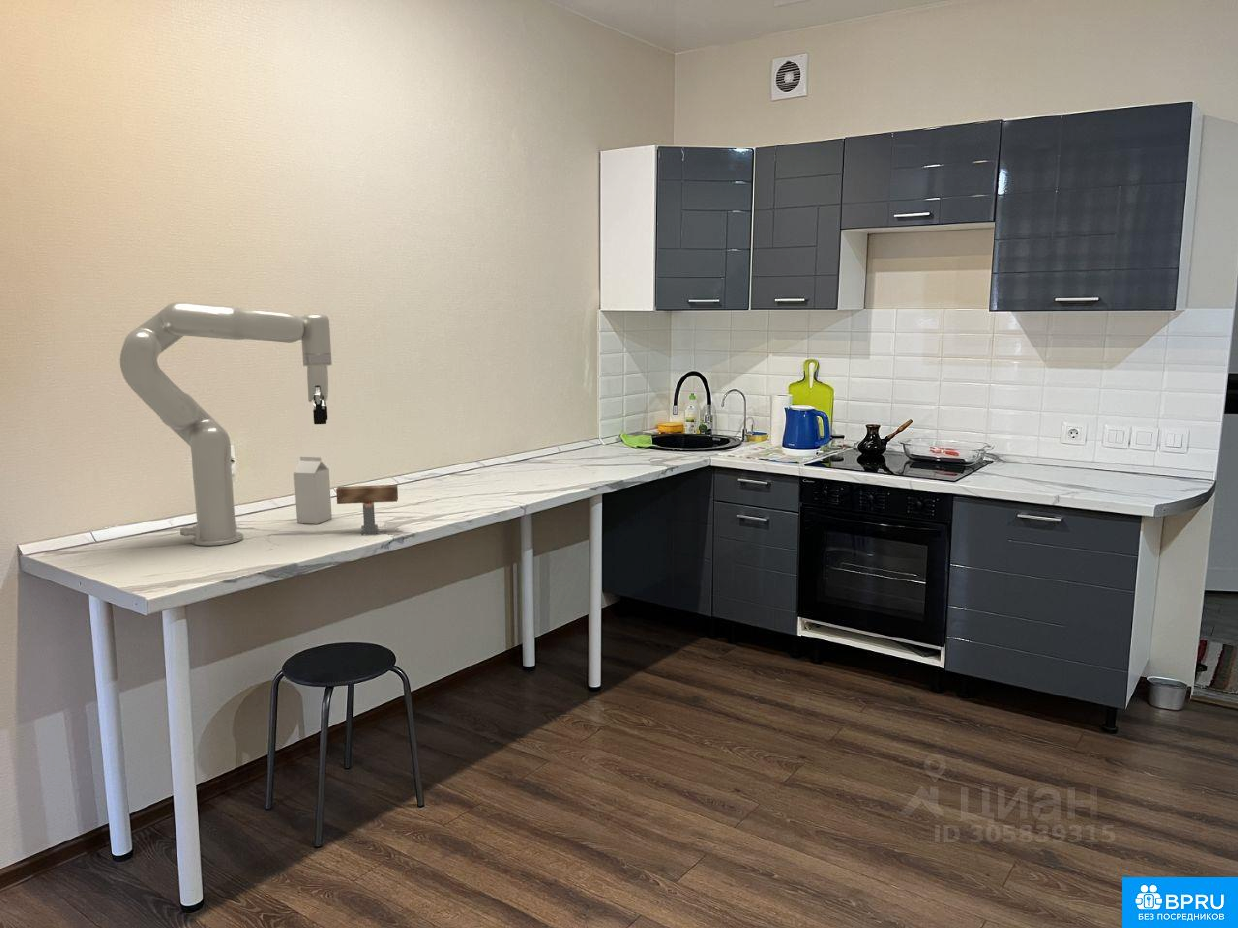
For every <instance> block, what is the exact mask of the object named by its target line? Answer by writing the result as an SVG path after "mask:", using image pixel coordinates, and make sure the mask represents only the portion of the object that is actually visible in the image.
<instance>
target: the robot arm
mask: <svg viewBox="0 0 1238 928" xmlns="http://www.w3.org/2000/svg"><path fill="white" fill-rule="evenodd" d="M183 337H196V338H198V337H199V338H206V339H221V340H233V341H242V340H250V341H251V340H252V341H264V342H265V341H266V342H275V343H287V344H291V343H296V342H297V341H301V353H302V354H301V355H302V366H303V367H307V368H306V377H307V378H306V380H307V395H308V396H307V399H308V400H307V401H308V402H309V403H312V401H313V410H312V412H313V424H314V425H326V424H327V420H328V407H327V401H328V394H329V378H328V377H329V376H328V366H332V351H331V350H332V348H331V330H330V320H329V317H328V316H327V315H324V314H305V315H295V314H290V313H280V312H279V313H278V312H269V311H268V312H267V311H258V310H251V309H244V308H241V307H240V308H239V307H233V306H223V305H213V304H204V303H203V304H202V303H192V302H182V301H176V302H175V301H174V302H171V303H169V304H167V305H166V306H165V307H163V308H162V309H161V310H160V311H159V312H157V313H156V314H155V315H153V316H152V317H150V318H149V319H147V320H146V321H145V322H144V323H142V324H140V325H139V326H138V327H136V328H135V329H133V330H132V331H130V332H129V333H128V334H127V335H126V337H125V338H124V341H123V344H122V346H121V350H120V354H119V368H120V372H121V374H122V375H121V376H122V377H123V379H124V381H125V383H127V385H128V386H129V387H130V389H132V391H133V392H134V393H135V394H136V395H137V396H138V397H139V398H140V399H141V400H142V401H143V402H144V403H145V404H146V405H147V406H148V407H149V408H150V409H151V410H152V411H153V412H154V413H155V414H156V415H157V416H158V418H159V419H160V420H161V421H162V423H163V424H164V425H166V426H167V427H168V428H170V429H171V430H172V431H173V432H174V433H175V434H177V435H178V437H180V438H181V439H182V440H183V441H184V442H185V443H186V444H187V445H188V446H189V447H190V451H191V452H190V453H191V467H192V478H193V489H194V500H195V501H194V502H195V511H196V512H195V513H196V514H195V515H196V525H194V526H192V527H181V528H179V534H180V536H184V537H187V536H188V537H189V536H193V537H192V539H191V543H192V544H193V545H195V546H201V547H203V546H204V547H205V546H206V547H209V546H210V547H211V546H221V545H222V546H223V545H229V544H233V543H236V542H239V541H242V540H243V539H244V534H243V533H241V532H240V531H237V523H236V509H235V497H234V496H235V495H234V483H233V472H232V470H233V468H232V444H231V438H230V436H229V434H228V432H227V431H226V429H225V428H224V427H222V426H221V424H219V423H218V422H217V421H216V420H215V419H214V418H213V417H212V416H211V415H210V414H209V413H208V412H207V410H205V409H204V408H203V407H202V406H201V405H200V404H199V403H198V402H197V401H196V400H195V399H194V397H192V396H191V395H190V394H188V393H186V392H184V391H183V390H182V389H181V388H180V387H178V386H177V384H176V383H175V382H173V381H172V379H171V378H170V377H169V376H168V375H167V374H166V373H165V372H164V371H163V370H162V368H160V367H159V363H158V357H159V356H160V354H162V353H163V352H165V350H167V349H169V348H170V347H171V346H173V345H174V344H175V343H177V342H178V341H179V340H180V339H182V338H183Z"/></svg>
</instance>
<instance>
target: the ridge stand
mask: <svg viewBox="0 0 1238 928" xmlns="http://www.w3.org/2000/svg"><path fill="white" fill-rule="evenodd" d="M362 513H363V514H362V517H363V525H361V536H364V535H363V534H369V535H378V534H379V525H378V524H377V523H376V519H375V518H376V517H375V516H376V515H375V514H376V513H375V502H373V503H362Z"/></svg>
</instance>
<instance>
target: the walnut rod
mask: <svg viewBox="0 0 1238 928" xmlns="http://www.w3.org/2000/svg"><path fill="white" fill-rule="evenodd" d="M335 491H336V494H335V495H336V504H337V505H343V504H344V505H345V504H348V505H349V504H363V503H373V502H374V503H391V502H392V503H393V502H395V503H396V502H398V501H399V500H398V499H399V491H398V484H384V485H378V484H377V485H359V486H357V485H355V486H352V485H351V486H337V488H336V490H335Z"/></svg>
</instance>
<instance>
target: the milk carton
mask: <svg viewBox="0 0 1238 928" xmlns="http://www.w3.org/2000/svg"><path fill="white" fill-rule="evenodd" d="M293 483H294V501H295V514H296V515H295V516H296V523H300V524H313V525H314V524H322V523H323V522H327V521H329V520H332V518H333V517H332V516H333V515H332V501H331V485H330V469H329V468H328V467H327V465H325V464H324V463H323V461H322V457H319V456H318V457H315V456H313V457H312V456H299V462H298V463H297V465H296V467H295V469H294V470H293Z"/></svg>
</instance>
